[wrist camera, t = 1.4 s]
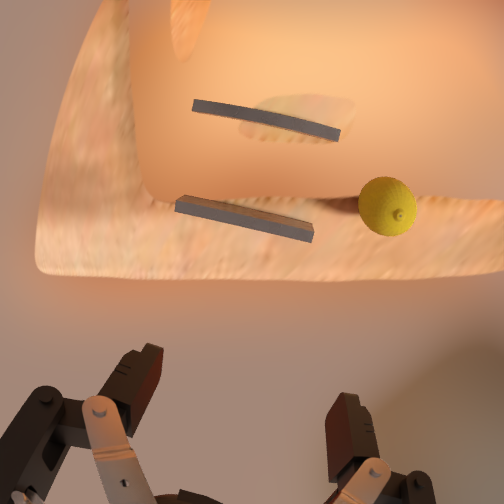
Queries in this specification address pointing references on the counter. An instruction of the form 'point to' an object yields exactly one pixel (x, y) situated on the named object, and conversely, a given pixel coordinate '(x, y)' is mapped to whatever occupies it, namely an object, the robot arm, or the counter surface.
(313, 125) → the guide channel
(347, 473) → the robot arm
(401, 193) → the lemon
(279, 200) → the counter surface
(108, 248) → the counter surface
